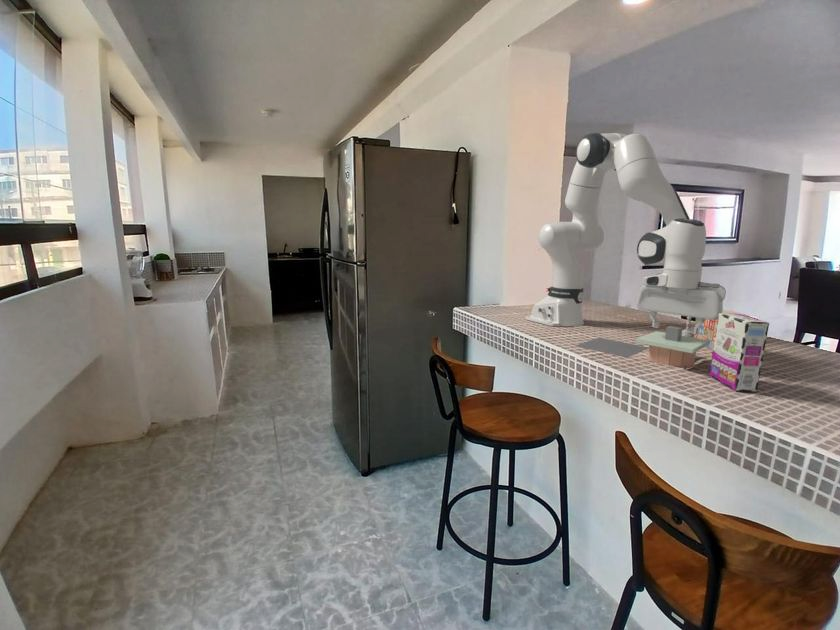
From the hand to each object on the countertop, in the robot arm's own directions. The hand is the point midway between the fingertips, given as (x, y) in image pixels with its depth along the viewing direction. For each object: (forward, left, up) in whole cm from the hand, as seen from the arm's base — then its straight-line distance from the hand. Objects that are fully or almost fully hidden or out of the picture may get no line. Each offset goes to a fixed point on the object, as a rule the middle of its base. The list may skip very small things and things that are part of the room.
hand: (674, 330), depth 117 cm
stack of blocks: (+5, +27, -10) cm, 29 cm away
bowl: (0, 0, -9) cm, 9 cm away
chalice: (-7, +36, -9) cm, 38 cm away
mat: (-17, +1, -9) cm, 19 cm away
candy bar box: (+16, -7, -9) cm, 20 cm away
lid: (0, 0, -4) cm, 4 cm away
